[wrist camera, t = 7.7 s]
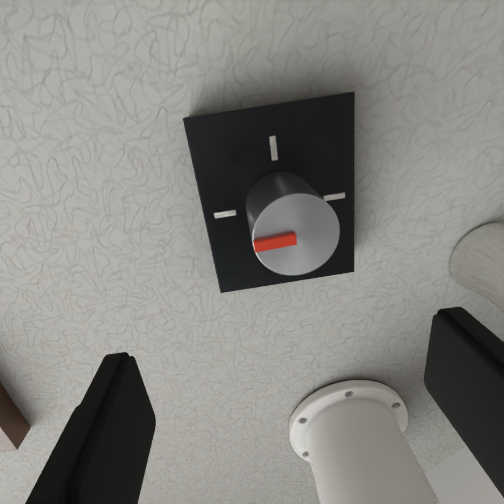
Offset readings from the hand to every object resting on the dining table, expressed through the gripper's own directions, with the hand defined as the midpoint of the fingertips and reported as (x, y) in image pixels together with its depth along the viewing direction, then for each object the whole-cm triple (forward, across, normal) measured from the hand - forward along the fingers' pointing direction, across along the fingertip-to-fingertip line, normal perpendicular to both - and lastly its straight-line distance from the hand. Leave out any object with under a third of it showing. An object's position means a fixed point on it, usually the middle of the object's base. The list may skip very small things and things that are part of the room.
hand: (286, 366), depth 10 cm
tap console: (+15, -2, -2) cm, 15 cm away
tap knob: (+12, -2, -2) cm, 13 cm away
